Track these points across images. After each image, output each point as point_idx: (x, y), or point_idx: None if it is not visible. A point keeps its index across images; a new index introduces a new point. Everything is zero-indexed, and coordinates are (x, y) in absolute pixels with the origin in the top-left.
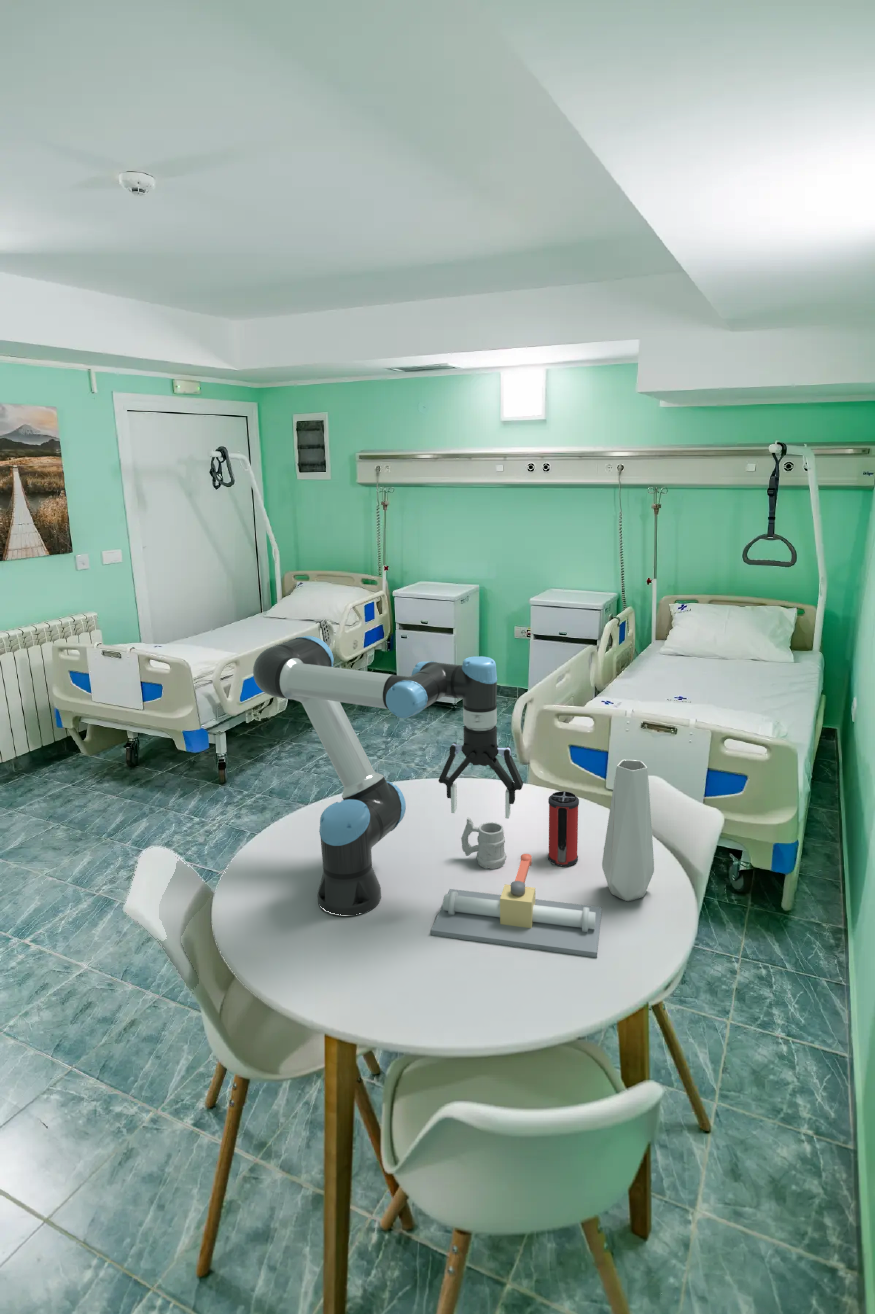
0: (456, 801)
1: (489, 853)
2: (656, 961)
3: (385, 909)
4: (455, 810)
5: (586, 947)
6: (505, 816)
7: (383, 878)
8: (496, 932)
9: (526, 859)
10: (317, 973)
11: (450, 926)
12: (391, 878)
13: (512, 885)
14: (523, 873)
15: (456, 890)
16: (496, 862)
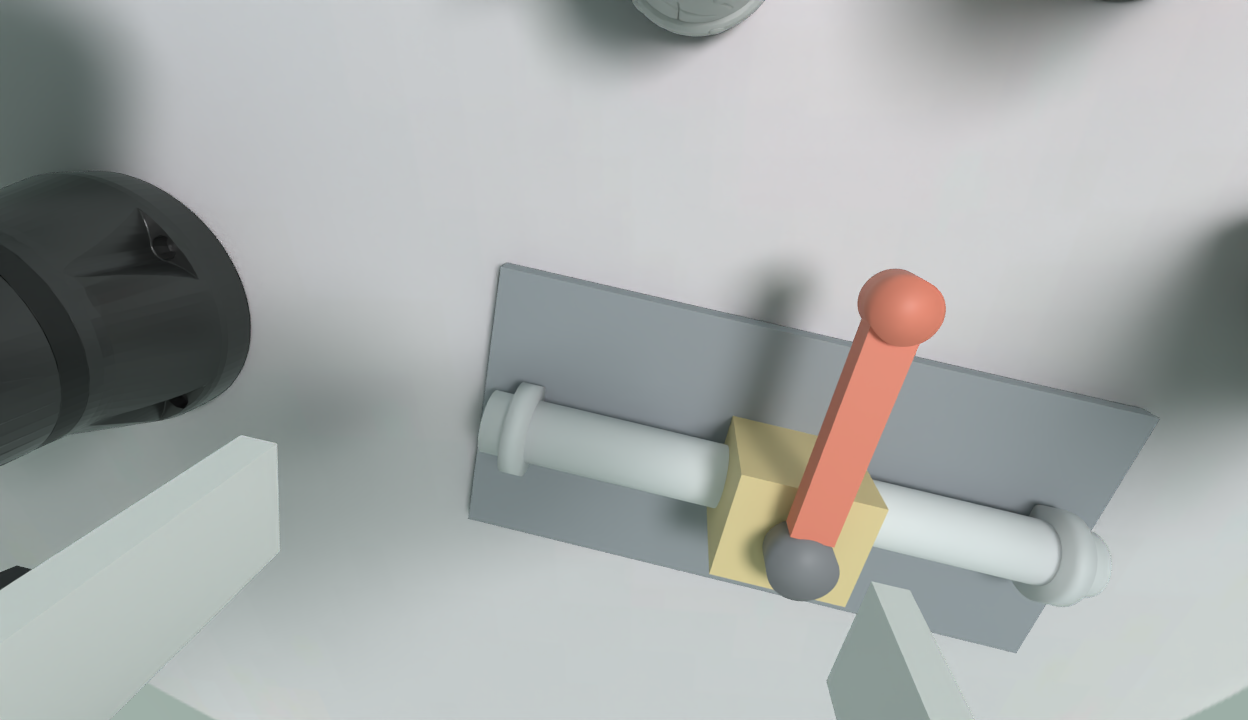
0: (201, 519)
1: (686, 10)
2: (1203, 666)
3: (288, 365)
4: (273, 511)
5: (988, 630)
6: (833, 699)
7: (202, 138)
8: (689, 542)
9: (901, 346)
10: (214, 631)
11: (530, 504)
12: (236, 137)
13: (775, 575)
14: (851, 469)
15: (530, 280)
16: (726, 26)
